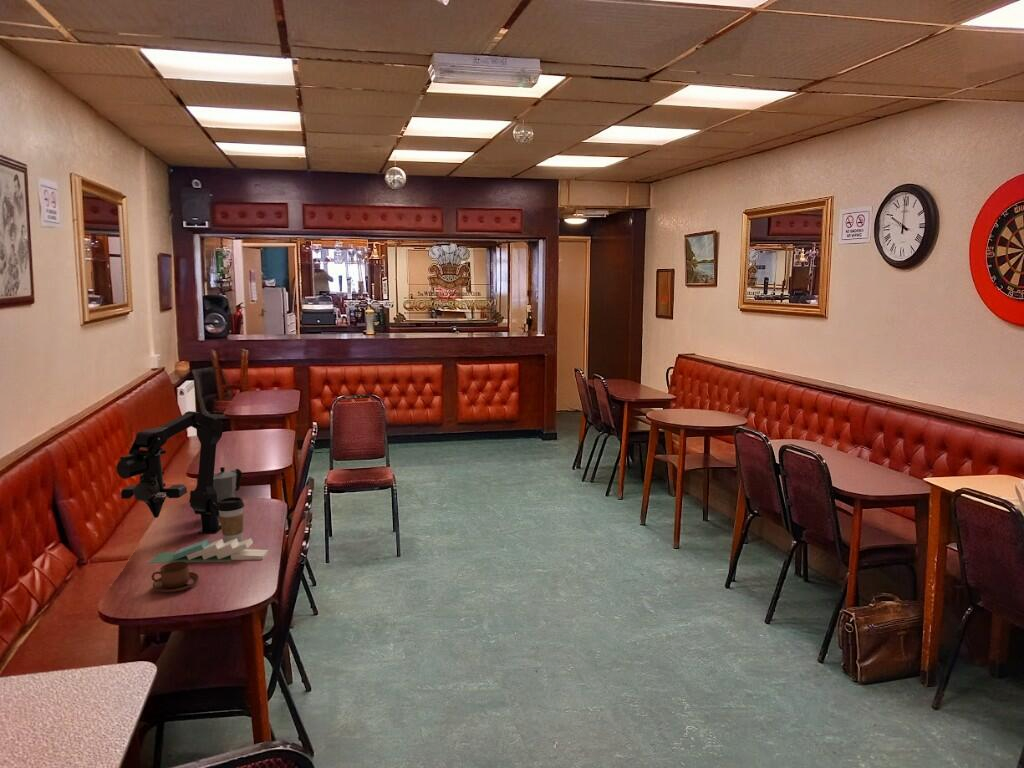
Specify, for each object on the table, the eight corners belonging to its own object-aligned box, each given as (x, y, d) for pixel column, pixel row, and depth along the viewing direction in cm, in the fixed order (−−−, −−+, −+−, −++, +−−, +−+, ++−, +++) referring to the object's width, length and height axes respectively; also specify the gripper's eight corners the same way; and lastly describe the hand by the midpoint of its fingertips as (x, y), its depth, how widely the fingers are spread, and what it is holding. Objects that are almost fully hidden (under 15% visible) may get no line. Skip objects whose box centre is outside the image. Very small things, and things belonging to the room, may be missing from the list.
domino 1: (179, 549, 233) (208, 538, 232) (182, 553, 233) (210, 543, 232) (172, 555, 228) (201, 544, 227) (174, 560, 228) (203, 549, 227)
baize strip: (160, 554, 235) (160, 552, 235) (239, 553, 234) (239, 551, 234) (148, 564, 227) (148, 562, 227) (229, 563, 226) (229, 561, 226)
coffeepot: (221, 521, 264) (217, 473, 261) (202, 518, 268) (198, 470, 266) (253, 508, 278) (249, 462, 275) (235, 505, 282) (231, 460, 279)
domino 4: (222, 548, 233) (251, 537, 232) (224, 553, 233) (253, 542, 232) (216, 555, 228) (245, 543, 227) (218, 559, 228) (247, 548, 227)
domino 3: (208, 549, 233) (236, 538, 232) (210, 553, 233) (238, 542, 232) (201, 555, 228) (230, 544, 227) (203, 559, 228) (232, 548, 227)
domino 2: (193, 549, 233) (221, 538, 232) (195, 553, 233) (224, 543, 232) (186, 555, 228) (215, 544, 227) (188, 560, 228) (217, 549, 227)
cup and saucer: (157, 600, 203) (155, 579, 202) (149, 585, 212) (147, 565, 211) (203, 588, 209) (201, 568, 208) (193, 574, 219) (191, 555, 218)
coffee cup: (216, 547, 239) (212, 503, 237) (225, 538, 248) (221, 495, 245) (242, 547, 240) (238, 503, 237) (250, 537, 248) (247, 495, 246)
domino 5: (237, 548, 233) (268, 550, 232) (237, 553, 233) (268, 554, 233) (230, 554, 228) (262, 556, 228) (231, 559, 228) (262, 561, 228)
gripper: (108, 477, 224) (113, 526, 226) (168, 477, 223) (173, 526, 226) (127, 467, 235) (132, 514, 237) (185, 467, 234) (189, 513, 237)
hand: (156, 517), depth 234 cm, fingers closed
